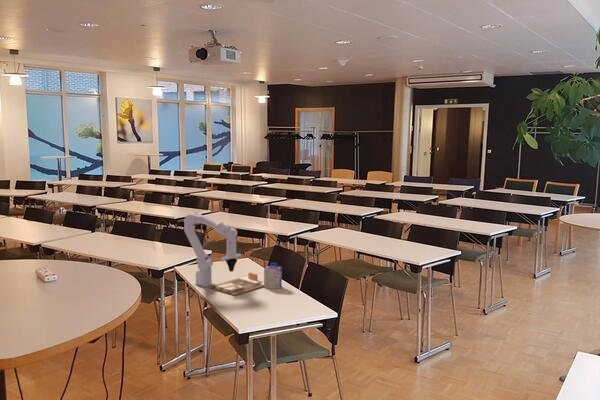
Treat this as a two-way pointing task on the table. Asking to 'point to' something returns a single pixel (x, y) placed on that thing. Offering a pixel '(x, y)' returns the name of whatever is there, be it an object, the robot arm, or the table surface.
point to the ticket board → (235, 287)
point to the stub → (251, 279)
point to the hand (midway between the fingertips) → (231, 271)
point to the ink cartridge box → (273, 276)
